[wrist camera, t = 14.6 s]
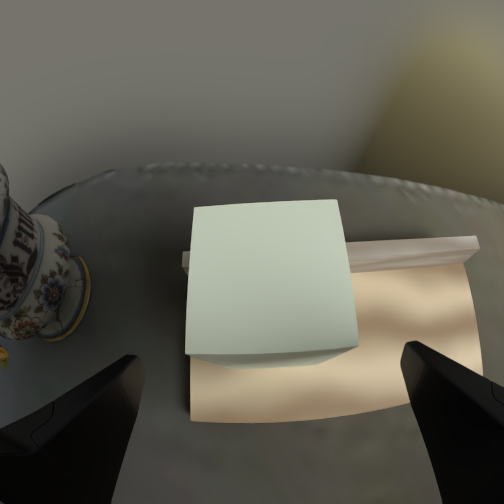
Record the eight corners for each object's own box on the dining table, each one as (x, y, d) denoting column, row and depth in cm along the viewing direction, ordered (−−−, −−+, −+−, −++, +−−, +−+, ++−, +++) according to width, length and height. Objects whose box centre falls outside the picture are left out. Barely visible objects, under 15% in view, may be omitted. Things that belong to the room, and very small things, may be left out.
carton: (316, 365, 19) (359, 345, 9) (231, 369, 19) (185, 353, 9) (310, 283, 22) (335, 195, 12) (231, 287, 22) (194, 203, 12)
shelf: (473, 380, 18) (504, 375, 14) (196, 418, 19) (177, 426, 15) (451, 255, 23) (474, 232, 19) (198, 271, 24) (183, 247, 20)
